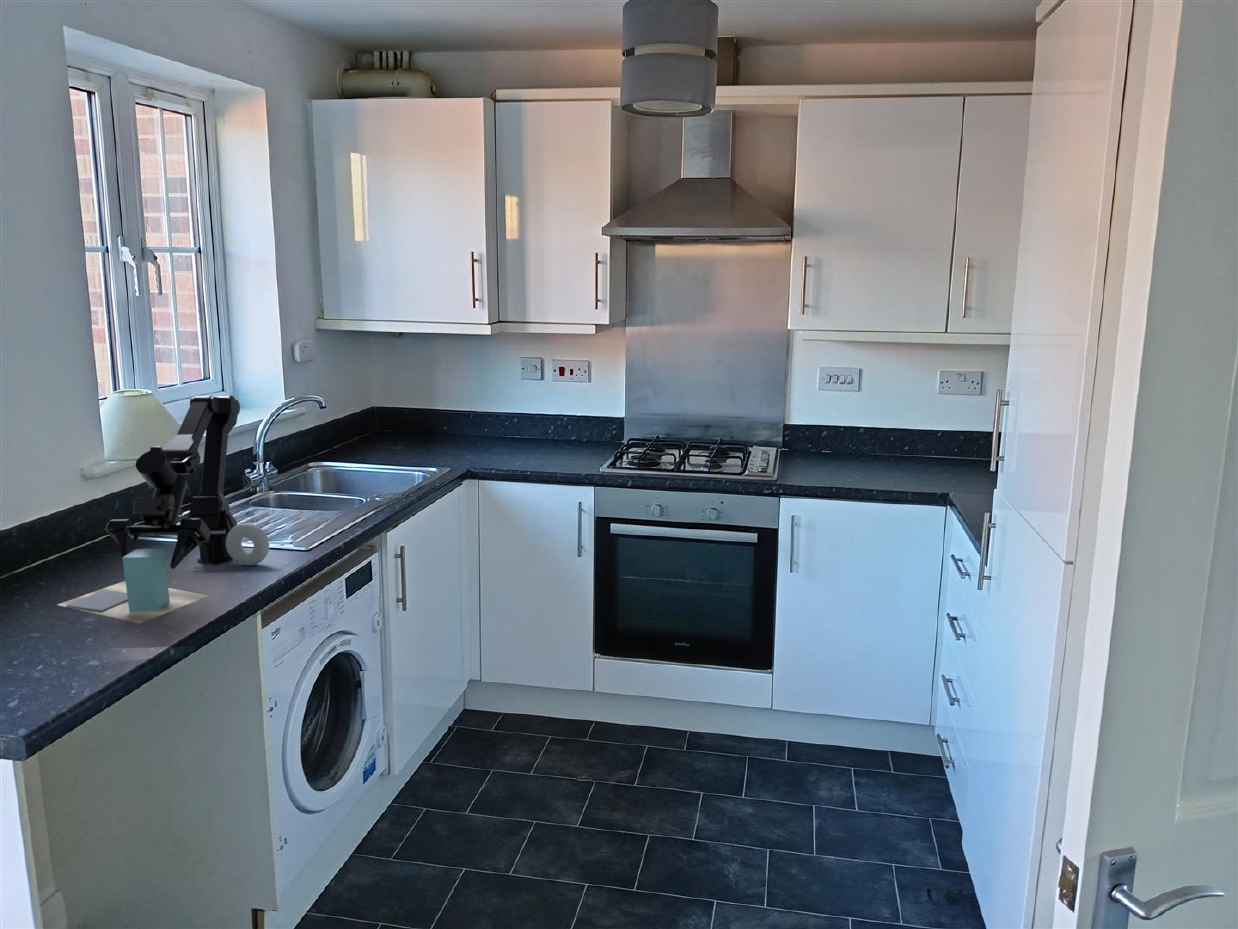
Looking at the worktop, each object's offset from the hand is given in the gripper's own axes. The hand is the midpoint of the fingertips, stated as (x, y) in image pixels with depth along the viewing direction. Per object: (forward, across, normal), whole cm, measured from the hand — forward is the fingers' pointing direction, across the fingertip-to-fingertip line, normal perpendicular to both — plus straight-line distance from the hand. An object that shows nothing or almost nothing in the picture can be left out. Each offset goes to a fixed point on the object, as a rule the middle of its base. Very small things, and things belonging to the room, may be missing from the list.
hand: (148, 568), depth 185 cm
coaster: (+4, -11, +6) cm, 13 cm away
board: (+5, -5, +8) cm, 10 cm away
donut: (-13, +9, +26) cm, 31 cm away
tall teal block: (+6, 0, +4) cm, 7 cm away
